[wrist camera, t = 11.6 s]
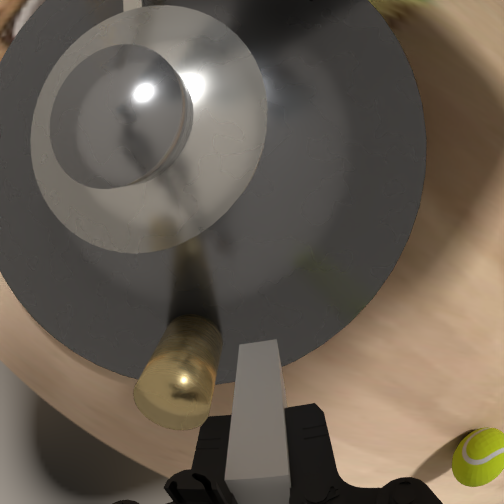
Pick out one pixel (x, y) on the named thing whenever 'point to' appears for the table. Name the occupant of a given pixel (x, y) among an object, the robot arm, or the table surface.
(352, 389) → the table surface
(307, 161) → the turntable
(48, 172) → the cover
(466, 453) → the tennis ball
